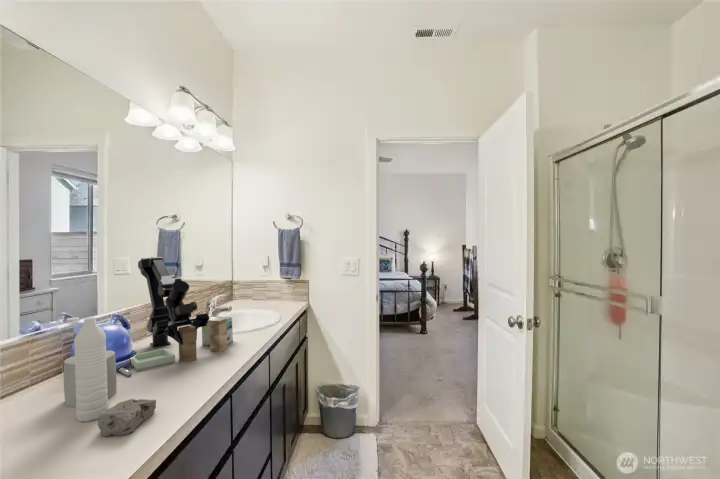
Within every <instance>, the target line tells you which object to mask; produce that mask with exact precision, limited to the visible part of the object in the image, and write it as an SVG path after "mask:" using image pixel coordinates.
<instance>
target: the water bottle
mask: <svg viewBox="0 0 720 479" xmlns="http://www.w3.org/2000/svg"><path fill="white" fill-rule="evenodd" d="M78 322H80V317H77V316H76V317H70V318H67V319H66V323H67V324H73V323H78ZM82 323H83V325H82V326H81V328H80V330H78V332H77V334H76V335H75V336H74V341H73V343H74V344H73V347H74V356H75V365H76V366H75V368H76V369H75V377H76V381H75V383H76V401H77V402H76V407H75V408H76V410H75V411H76V413H75V414H76V415H75V416H76V421H78V422H82V423H83V422H85V423H86V422H92V421H95V420H98V418H99V416H100V415H101V414H102V413H103V412H105V411H106V410H107V409H109V399H108V395H107V393H108V389H107V373H106V372H107V364H106V362H107V361H106V350H107V344H106V343H107V336H106V335H107V334H106V332H105V331H104V330H103V328H101V327H100V325H98V324H97V320H96V317H87V318H84V319H83V322H82Z"/></svg>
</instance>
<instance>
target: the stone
mask: <svg viewBox="0 0 720 479" xmlns="http://www.w3.org/2000/svg"><path fill="white" fill-rule="evenodd" d="M156 408H157V400H156V399H140V398H139V399H135V398H129V399H127V400H124V401H121V402H118V403H116V404H115V405H113V406H111V408H108V409H107V410H106V411H105V412H103V413H102V414H101V415H100V416H99V418H98V419H97V422H98V423H97V425H98V429H99V430H100V432H99V433H100V435H101V436H102V437H104V438H105V437H111V436H115V437H121V436H127V435H130V434H131V433H133V432H134V431H136V428H137V427H138V426H139V425H140V424H142V422H144V421H145V420H147V419H148V418H150V417H151V416H152V415H153V414H154V412H155V410H156Z"/></svg>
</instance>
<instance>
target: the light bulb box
mask: <svg viewBox="0 0 720 479" xmlns="http://www.w3.org/2000/svg"><path fill="white" fill-rule="evenodd" d="M209 317H210V318H209V320H208V322H207V324H206V326H204V327H201V342H202V343H201V345H202V346H210V320H213V319H216V318H226V319H227V345H228V344H230V343H232V342H233V340H234V335H233V316H209Z"/></svg>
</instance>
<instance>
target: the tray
mask: <svg viewBox="0 0 720 479" xmlns="http://www.w3.org/2000/svg"><path fill="white" fill-rule="evenodd" d="M135 354H136V356H135V357H134V358H133V359H132V361H131V363H132V364H131V363H130V364H131V366H132V367H133V366H134V367H133V368H134V369H135V371H137V372H138V371H143V370H147V369H152V368H155V367H160V366H164V365H168V364H172V363H175V362H176V355H175V354H174V353H173V352H172V351H170V350H169V349H168V348H167V347H164V348H159V349H155V350H150V351H145V352H140V353H139V352H138V353H135Z"/></svg>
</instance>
